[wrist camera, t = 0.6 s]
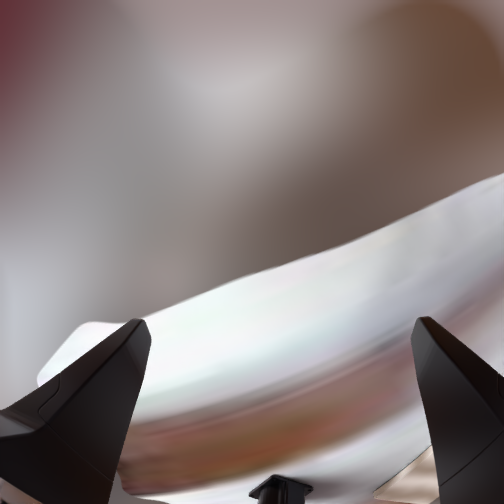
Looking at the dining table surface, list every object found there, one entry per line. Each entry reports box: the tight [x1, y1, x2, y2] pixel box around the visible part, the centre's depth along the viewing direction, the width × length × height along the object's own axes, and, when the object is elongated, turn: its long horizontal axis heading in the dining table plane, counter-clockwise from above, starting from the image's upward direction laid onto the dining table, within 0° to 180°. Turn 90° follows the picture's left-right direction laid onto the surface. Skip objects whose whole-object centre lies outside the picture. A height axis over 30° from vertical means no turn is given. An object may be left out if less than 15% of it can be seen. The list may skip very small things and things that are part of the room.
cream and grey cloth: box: [373, 445, 440, 504], centre depth 28 cm, size 16×22×1 cm
